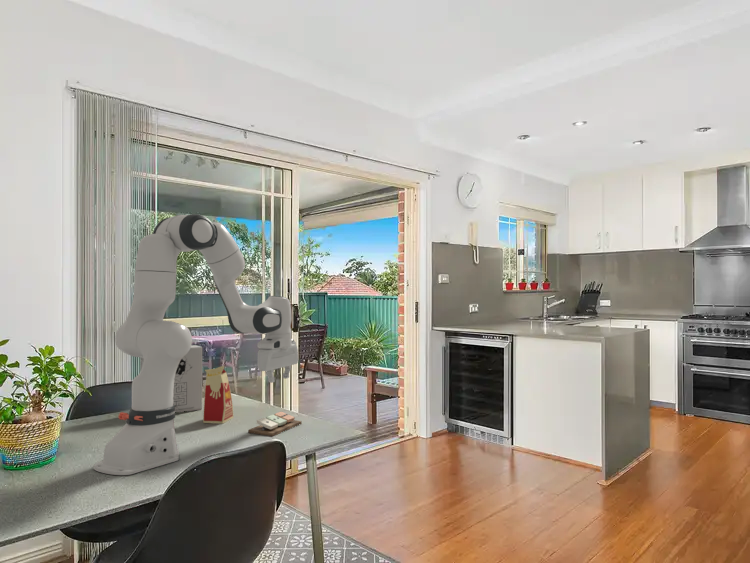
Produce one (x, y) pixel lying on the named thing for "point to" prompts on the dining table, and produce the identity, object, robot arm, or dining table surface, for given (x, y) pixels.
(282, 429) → the brown flat board
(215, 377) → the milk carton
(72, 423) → the dining table surface
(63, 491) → the dining table surface
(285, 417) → the three-dot tile
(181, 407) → the cereal box
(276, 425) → the one-dot tile
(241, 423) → the dining table surface
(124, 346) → the robot arm
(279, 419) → the two-dot tile
